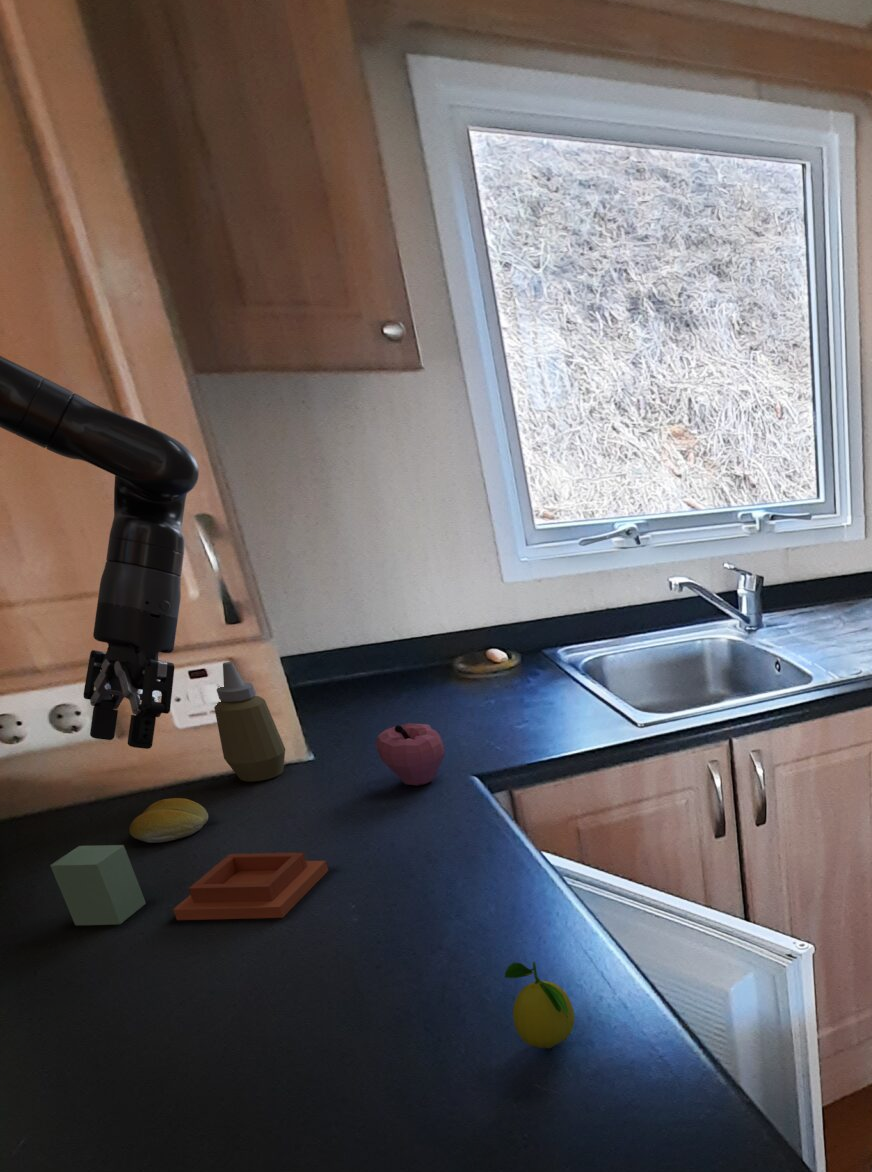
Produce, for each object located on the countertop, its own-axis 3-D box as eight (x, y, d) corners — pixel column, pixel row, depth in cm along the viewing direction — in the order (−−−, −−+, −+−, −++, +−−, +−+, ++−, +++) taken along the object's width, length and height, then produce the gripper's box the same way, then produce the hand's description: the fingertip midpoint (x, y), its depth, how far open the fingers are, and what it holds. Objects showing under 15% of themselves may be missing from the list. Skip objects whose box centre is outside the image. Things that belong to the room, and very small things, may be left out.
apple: (457, 785, 161) (443, 723, 156) (396, 799, 156) (380, 736, 151) (438, 766, 167) (424, 706, 163) (379, 779, 162) (363, 718, 158)
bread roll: (122, 847, 141) (112, 820, 139) (156, 819, 148) (147, 793, 147) (190, 843, 142) (181, 816, 140) (220, 815, 150) (211, 790, 148)
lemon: (516, 1032, 106) (498, 949, 101) (577, 1021, 108) (563, 939, 103) (515, 1073, 100) (497, 986, 96) (580, 1060, 102) (564, 975, 98)
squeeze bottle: (221, 777, 162) (184, 664, 154) (276, 761, 168) (243, 652, 160) (246, 789, 158) (209, 674, 150) (301, 773, 164) (269, 661, 156)
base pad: (282, 917, 125) (274, 892, 123) (176, 920, 124) (167, 894, 122) (328, 870, 136) (321, 846, 134) (231, 872, 135) (223, 848, 133)
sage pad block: (120, 924, 123) (96, 864, 119) (75, 925, 123) (49, 865, 119) (146, 903, 127) (123, 844, 124) (102, 904, 127) (79, 845, 123)
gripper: (70, 596, 123) (52, 732, 124) (134, 603, 117) (114, 746, 118) (143, 611, 130) (125, 740, 131) (207, 619, 124) (188, 754, 124)
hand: (120, 743), depth 124 cm, fingers open, 8 cm apart
